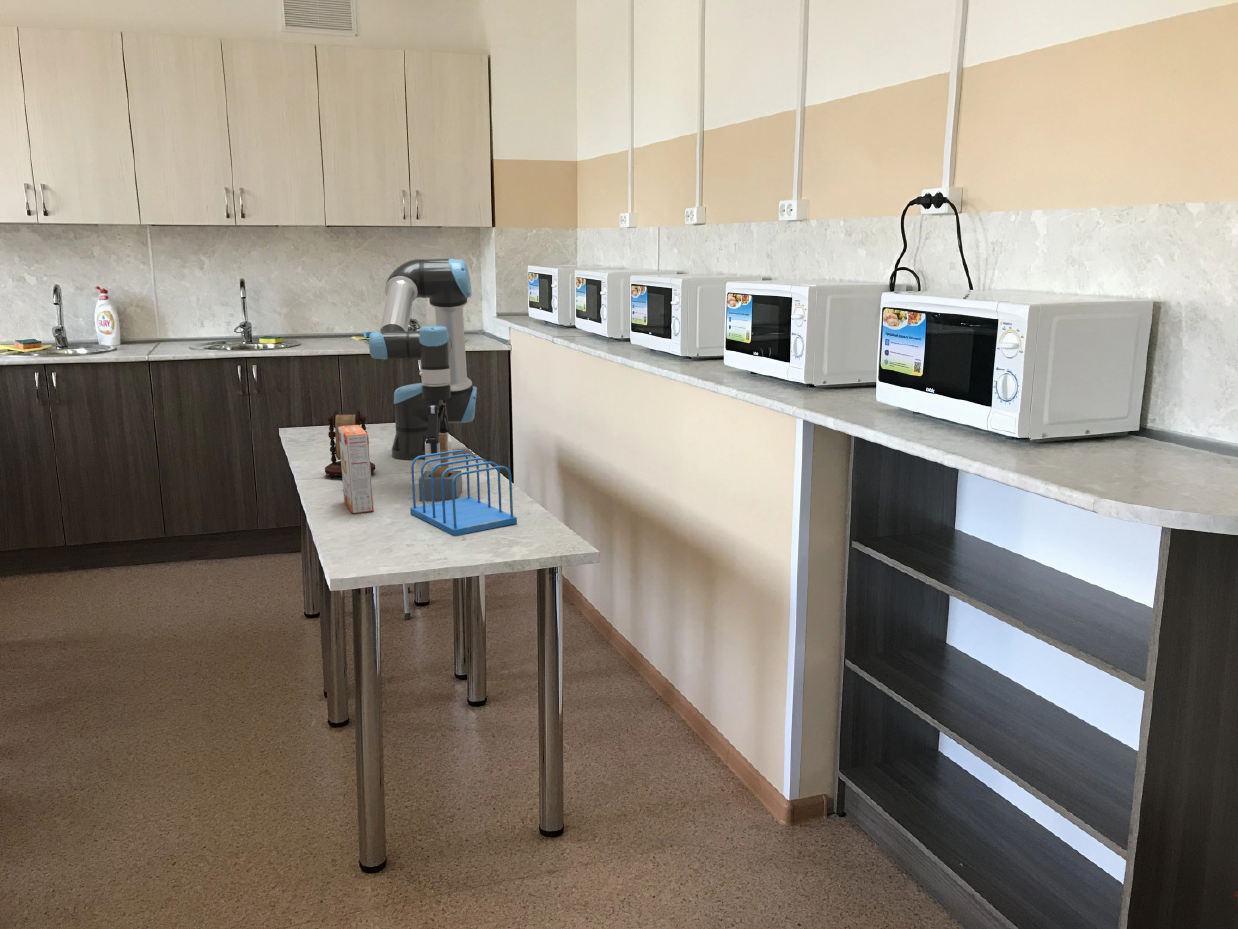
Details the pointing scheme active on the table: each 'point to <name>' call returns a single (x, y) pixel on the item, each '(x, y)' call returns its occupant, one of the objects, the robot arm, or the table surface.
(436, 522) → the file sorter
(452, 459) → the pill bottle
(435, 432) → the robot arm
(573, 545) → the table surface
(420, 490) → the grey square sleeve
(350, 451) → the cracker box
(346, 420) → the scroll
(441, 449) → the long wooden beam
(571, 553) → the table surface
